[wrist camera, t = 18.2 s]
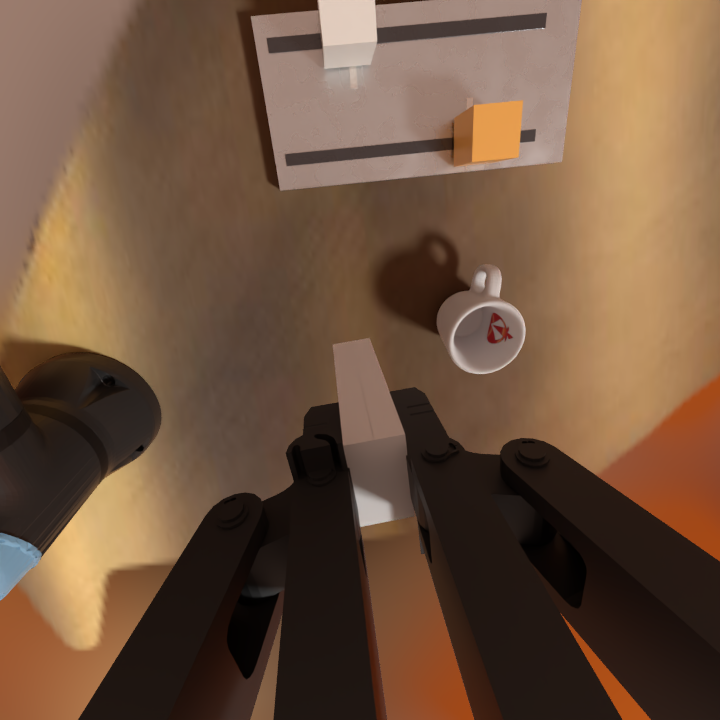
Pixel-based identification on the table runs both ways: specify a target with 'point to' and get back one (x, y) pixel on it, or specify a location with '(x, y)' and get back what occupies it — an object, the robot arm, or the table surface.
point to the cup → (481, 325)
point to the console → (414, 88)
